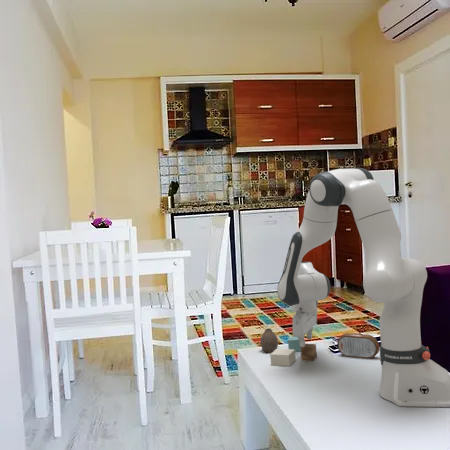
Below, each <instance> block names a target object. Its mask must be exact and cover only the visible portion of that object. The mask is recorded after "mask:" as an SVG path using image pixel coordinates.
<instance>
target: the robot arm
mask: <svg viewBox="0 0 450 450" xmlns="http://www.w3.org/2000/svg"><path fill="white" fill-rule="evenodd" d="M308 188H309V189H308V192H307V194H306V199H305V202H304V209H303V218H302V222H301V224H300V226H299V229H298V230H297V231H296V232H295V233H294V234H293V235H292V237H291V239H290V241H289V244H288V245H289V246H288V250H287V254H286V259H285V262H284V266H283V270H282V275H281V277H280V278H279V281H278V284H277V288H276V289H277V296H278V298H279V300H280V301H281V302H282V303H284V304H285V305H287V306H289V307H291V311H293V312H294V313H295V314H294V315H293V317H292V335H293V337H298V340H299V343H300V347H304V346H305V345H306V344H307V343H306V340H312V339H313V330H314V326H315V325H316V324H317V322H318V305H319V301H323V300H324V299H325V300H326V299H327V297H328V296H329V295H330V292H331V282H330V279H329V278H328V276H326V275H325V274H324V273H322V272H319V271H318V270H316V268H314V265H313V263H312V262H311V261H302V260H303V258H304V256H306V254H308V252H310V251H312V250H313V249H314V248H317V247H319V246H322V245H323V244H325V243H327V242H328V241H330V240H331V239H332V238H333V236H334V235H335V233H336V229H337V225H338V224H337V223H338V213H339V212H338V211H339V207H340V206H341V205H346V206H348V207H349V208H350V210H351V212H352V215H353V218H354V222H355V225H356V227H357V230H358V233H359V235H360V236H359V237H360V239H361V243H362V245H363V251H364V259H365V260H364V261H365V274H364V277H363V281H362V286H363V291H364V292H365V295H366V297H368V298H369V299H370V300H371V301H372V302H375V303H378V304H380V303H381V304H383V309H382V312H381V314H380V316H379V321H378V323H379V334H380V335H379V336H380V344H379V346H380V349H379V359H380V365H381V378H380V385H379V390H378V395H379V396H380V397H381V398H382V399H385V400H386V401H390V402H391V403H393V404H395V405H396V406H398V407H419V408H420V407H421V408H422V407H425V408H426V407H429V408H431V407H432V408H433V407H434V408H441V407H443V408H450V372H449V371H448V370H447V369H446V368H444V367H443V366H441V365H440V364H438V363H437V362H435V361H434V360H432V359H430V358H431V352H430V349H429V347H428V346H424V345H423V344H422V340H421V339H422V337H421V310H422V309H421V308H422V303H423V295H424V294H423V293H424V288H425V285H426V283H427V279H428V271H427V269H426V267H425V265H424V264H423V263H422V262H421V261H420V260H418V259H415V258H410V257H402V253H401V240H402V232H401V230H400V227H399V224H398V222H397V218H396V216H395V213H394V211H393V207H392V205H391V203H390V200H389V198H388V196H387V194H386V192H385V190H384V189H383V187H382V185H381V183H380V182H379V181H377V180H375V179H374V176H373V174H372V173H371V171H369V170H368V169H366V168H363V167H351V168H338V169H337V168H336V169H332V170H328V171H323V172H319V173H317V174H316V175H314V176H313V177H312V178H311V180H310V181H309V186H308ZM305 335H306V340H305Z"/></svg>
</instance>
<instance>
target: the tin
mask: <svg viewBox="0 0 450 450" xmlns="http://www.w3.org/2000/svg"><path fill="white" fill-rule="evenodd" d="M336 344H337V349H338V350H339V352H340V354H341V355H343V356H345V357H348V358H357V359H373V358H374V357H376V356H377V355H378V354H379V353H380V343H379V341H378V340H377V338H375V337H374V336H373V335H370V334H362V333H354V332H353V333H352V332H346V333H342V335H341V336H340V337H339V338H338V340H337V343H336Z"/></svg>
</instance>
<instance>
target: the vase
mask: <svg viewBox="0 0 450 450" xmlns="http://www.w3.org/2000/svg"><path fill="white" fill-rule="evenodd" d="M259 342H260V346H261V349H262V351H264V352H265V353H272V352H274V351H275V350H276V349H278V346H279V339H278V337H277V334H276V333H274V332H273V330H272V328H265V329H264V332H263V333H262V335H261V337H260V341H259Z"/></svg>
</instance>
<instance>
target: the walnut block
mask: <svg viewBox="0 0 450 450" xmlns="http://www.w3.org/2000/svg"><path fill="white" fill-rule="evenodd" d="M305 344H306V345H305V346H304V347H301V352H300V357H301V361H304V362H305V361H307V362H314V361H315V360H316V359H317V358H318V356H317V354H318V353H317V352H318V351H317V344H316V343H305Z"/></svg>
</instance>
